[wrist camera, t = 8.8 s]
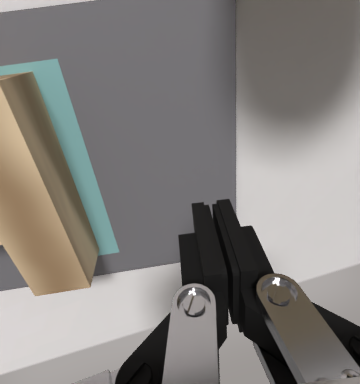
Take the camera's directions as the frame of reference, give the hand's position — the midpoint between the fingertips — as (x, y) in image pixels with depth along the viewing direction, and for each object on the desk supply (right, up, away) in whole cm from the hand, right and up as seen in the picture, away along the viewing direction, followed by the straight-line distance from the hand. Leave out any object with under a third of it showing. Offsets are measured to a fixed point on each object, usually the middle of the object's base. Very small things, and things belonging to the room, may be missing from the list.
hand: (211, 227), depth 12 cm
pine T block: (-15, +2, +7) cm, 17 cm away
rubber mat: (-11, +2, +7) cm, 13 cm away
